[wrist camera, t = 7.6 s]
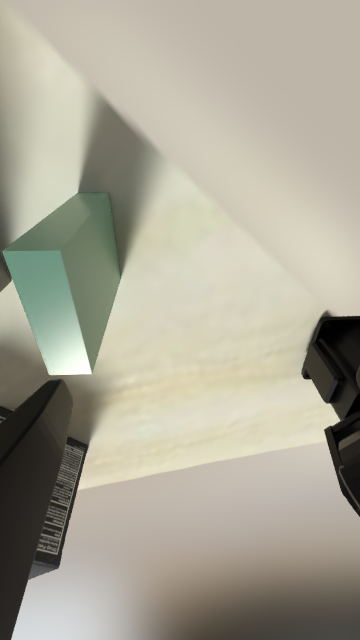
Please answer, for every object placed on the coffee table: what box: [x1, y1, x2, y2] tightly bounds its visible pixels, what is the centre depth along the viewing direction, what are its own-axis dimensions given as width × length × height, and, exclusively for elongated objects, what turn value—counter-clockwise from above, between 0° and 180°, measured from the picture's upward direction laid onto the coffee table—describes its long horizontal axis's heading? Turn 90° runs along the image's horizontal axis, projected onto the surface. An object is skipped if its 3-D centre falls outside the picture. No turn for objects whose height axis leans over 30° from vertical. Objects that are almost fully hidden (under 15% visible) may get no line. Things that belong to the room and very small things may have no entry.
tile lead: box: [2, 193, 121, 375], centre depth 14 cm, size 2×6×9 cm, turn 0°
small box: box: [0, 407, 88, 580], centre depth 26 cm, size 11×6×10 cm, turn 44°
